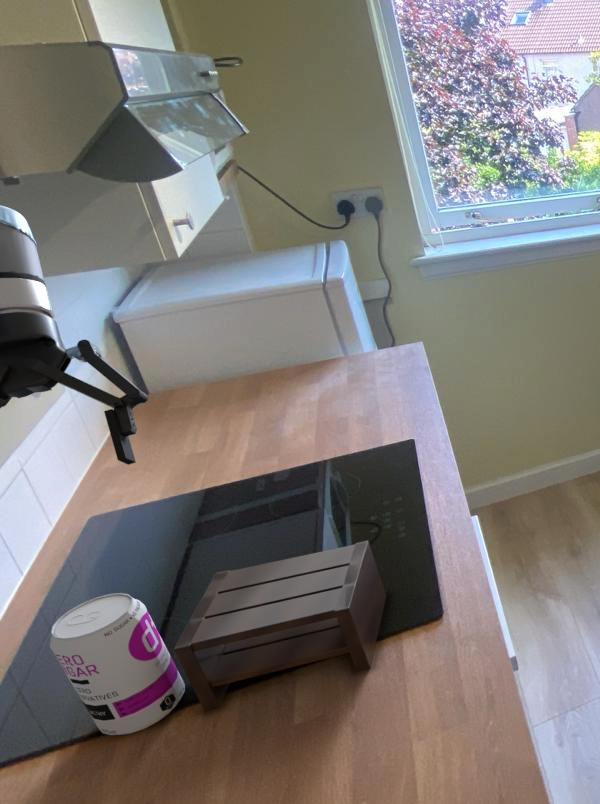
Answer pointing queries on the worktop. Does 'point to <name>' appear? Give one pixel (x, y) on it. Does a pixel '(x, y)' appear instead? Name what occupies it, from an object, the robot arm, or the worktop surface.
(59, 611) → the worktop surface
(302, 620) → the rack
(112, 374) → the robot arm
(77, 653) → the white drink can
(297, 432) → the worktop surface
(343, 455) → the worktop surface
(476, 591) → the worktop surface
